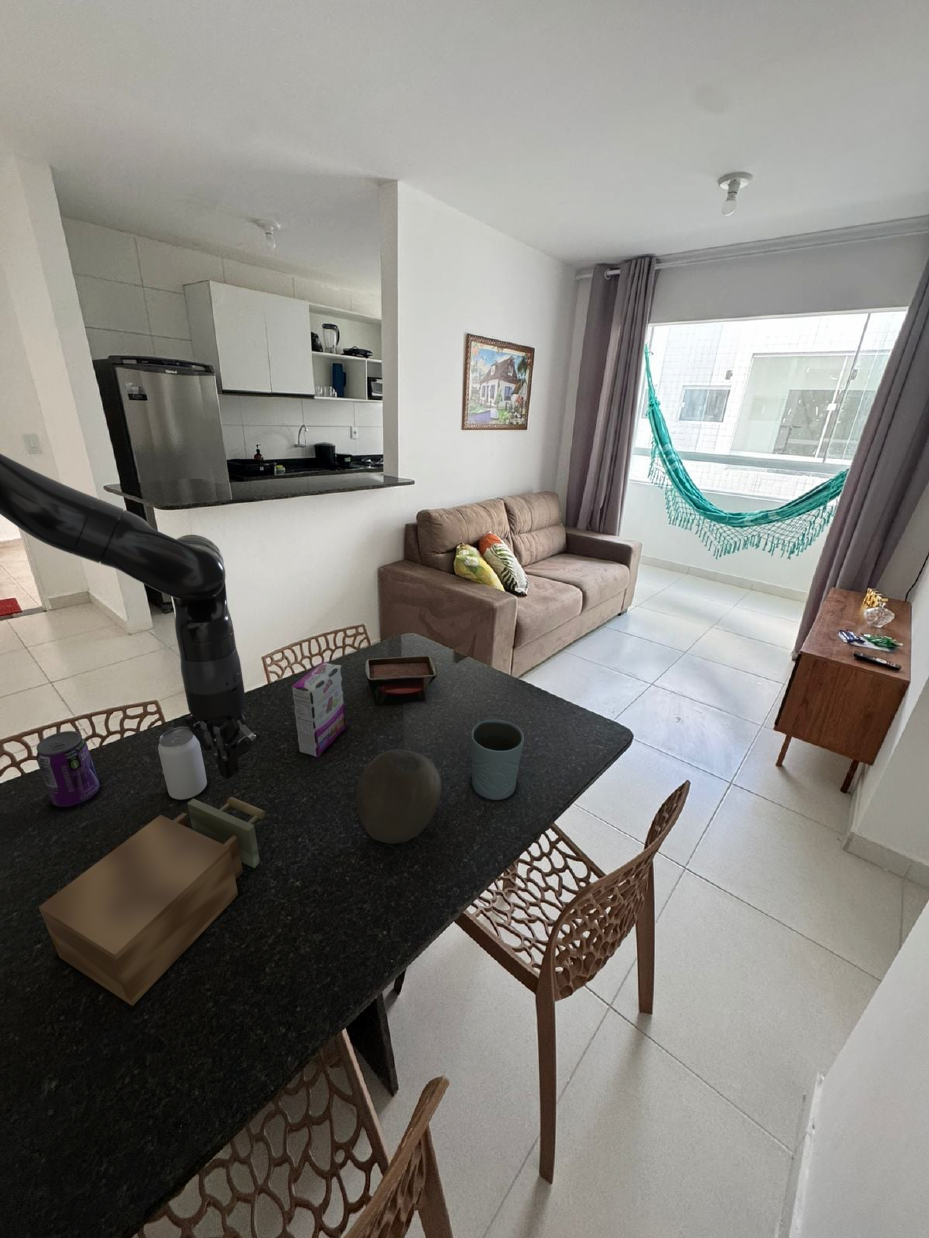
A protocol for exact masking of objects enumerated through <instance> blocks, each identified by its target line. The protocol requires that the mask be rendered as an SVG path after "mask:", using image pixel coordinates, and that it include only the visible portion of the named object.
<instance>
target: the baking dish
mask: <svg viewBox="0 0 929 1238" xmlns="http://www.w3.org/2000/svg"><path fill="white" fill-rule="evenodd" d="M363 666H364V676H365V678H366V681H367V683H368V686H369V688H370V690H371V693H372V695H373V698H374V701H375V703H376V705H377V706H391V705H400V704H409V703H417V702H418V703H419V702H424V701H426V700H427V698H426V694H427V691H428V688H429V686H430V685H431V683H432V682H433V681H434V680H435V679H436V678H437V677H438V670H437V664H436V663H435V661H434V659H433V658H432V657H431V656H430V655H428V654H427V655H412V656H411V655H410V656H394V657H380V658H379V657H376V658H369V659H366V661H365V662H364V665H363Z"/></svg>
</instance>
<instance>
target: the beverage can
mask: <svg viewBox="0 0 929 1238" xmlns="http://www.w3.org/2000/svg"><path fill="white" fill-rule="evenodd" d="M36 751H37V752H36V754H35V759H36V762H37V765H38V768H39V771H40V774H41V776H42V779H43V782H44V785H45V788H46V790H47V793H48V796H49V799H50V802H51V803H52V805H54V806H56V807H61V808H64V807H73V806H76V805H79V804H81V803H83V802H86V801H88V800H89V799H90V798H92V797H93V796H94V795H96V794H97V792H98V791H99V789H100V782H99V778H98V775H97V772H96V769H95V766H94V762H93V760H92V759H93V758H92V756H91V752H90V749H89V746H88V743H87V741H86V739H84V738H83V737H82V735H81V733H80V732H78V731H75V730H64V731H59V732H55V733H54V734H51V735H49V736H47V737H45V738H43V739H41V741H39V742H38V743H37V745H36Z"/></svg>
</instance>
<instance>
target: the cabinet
mask: <svg viewBox="0 0 929 1238" xmlns="http://www.w3.org/2000/svg"><path fill="white" fill-rule="evenodd" d="M238 895H239V891H238V887H237V881H236V880H235V875H234V870H233V864H232V859H231V853H230V847H228V846H226V845H223V844H221V843H219V842H217V841H215V840H213V839H211V838H209V837H206V836H204V835H202V834H200V833H198V832H196V831H194V830H193V828H190V829H189V828H187V827H185V826H183V825H181V824H179V823H177V822H175V821H173V820H172V819H170V818H168V817H166V816H164V815H162V814H159V815H158V816H157V817H155V818H154V819H153V820H152V821H150V822H148V823H147V824H146V825H145V826H144V827H142V828H141V829H139V830H138V831H137V832H136V833H134V834H133V835H132V836H131V837H129V838H128V839H126V840H125V841H123V842H122V843H121V844H120V845H118V846H117V847H116V848H114V849H113V850H112V851H111V852H109V853H108V854H106V855H105V856H104V857H102V858H101V859H100V860H98V861H97V862H96V863H95V864H92V866H91V867H89V868H88V869H87V870H85V871H84V872H83V873H81V874H80V875H79V876H77V877H76V878H75V879H73V880H72V881H71V882H70V883H68V884H67V885H65V886H64V887H63V888H62V889H61V890H59V891H57V892H56V893H55V894H54V895H52V896H51V897H50V898H48V899H47V900H46V901H44V902H43V903H41V905H39V906H38V909H39V911H40V915H41V916H42V919H43V921H44V923H45V926H46V929H47V931H48V933H49V936H50V938H51V940H52V943H53V946H54V948H55V950H56V952H57V954H58V957H59V958H60V959H61V960H63V962H66V963H67V964H69V965H70V966H72V967H73V968H75V969H76V970H77V971H79V972H81V973H82V974H83V975H85V976H87V977H88V978H89V979H91V980H92V981H94V982H95V983H97V984H98V985H100V986H101V987H103V988H105V989H106V990H107V991H109V992H111V993H112V994H114V995H115V996H117V997H118V998H120V999H121V1000H122V1001H124V1002H126V1003H127V1004H129V1005H130V1006H131V1007H133V1006H134V1005H135V1004H136V1003H138V1001H139V1000H140V999H141V998H142V997H143V996H144V995H145V993H147V992H148V991H149V989H150V988H151V987H152V986H154V984H155V983H156V982H157V981H158V980H159V979H160V978H161V977H162V976H163V975H164V974H165V973H166V971H168V969H169V968H170V967H171V966H172V965H173V964H174V963H175V962H176V961H177V960H178V959H179V958H180V957H181V956H182V955H183V954H184V952H185V951H186V950H187V949H188V948H190V946H191V945H192V944H193V943H194V942H195V941H196V940H197V939H198V938H199V936H200V935H201V934H203V933H204V931H205V930H206V929H207V928H209V926H210V925H211V924H212V923H213V922H214V921H215V920H216V919H217V917H219V916H220V915H221V914H222V913H223V911H224V910H225V909H226V908H227V907H228V906H229V905H230V904H231V903H232V902H233V901H234V900H235V899H236V897H237V896H238Z"/></svg>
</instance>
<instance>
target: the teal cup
mask: <svg viewBox="0 0 929 1238" xmlns="http://www.w3.org/2000/svg"><path fill="white" fill-rule="evenodd" d="M470 740H471V744H470V746H471V748H470V749H471V777H472V779H471V780H472V781H471V784H472V788H473V790H474V792H475V793H476V794H478V795H479V796H481V797H482V798H485V799H489V800H493V801H500V800H505V799H507V798H509V797H510V796H512V795H513V794H514V792H515V790H516V786H517V777H518V772H519V766H520V761H521V756H522V753H523V747H524V741H525V736H524V733H523V730H522V729H521V728H520V727H519V726H518V725H516V724H514V723H512V722H510V721H508V720H503V719H486V720H482V721H480V722H478V723H477V724H475V725H474V726H473V728H471V732H470Z"/></svg>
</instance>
